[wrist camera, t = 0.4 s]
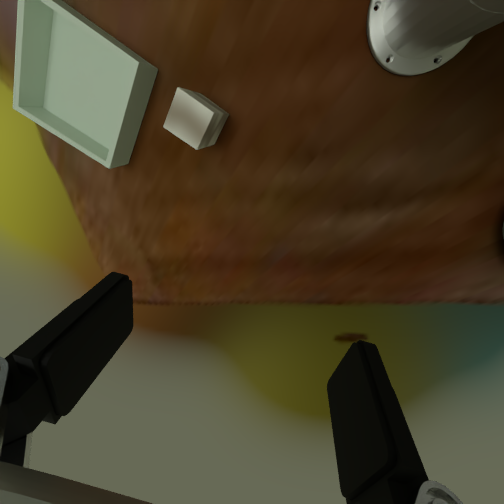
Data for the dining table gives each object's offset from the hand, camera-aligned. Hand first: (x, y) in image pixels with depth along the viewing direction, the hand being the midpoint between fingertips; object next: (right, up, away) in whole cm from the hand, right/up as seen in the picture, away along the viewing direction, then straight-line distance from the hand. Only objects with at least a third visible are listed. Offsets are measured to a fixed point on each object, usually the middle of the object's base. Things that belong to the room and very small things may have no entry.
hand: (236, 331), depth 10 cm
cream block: (-6, +24, +27) cm, 37 cm away
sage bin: (-24, +29, +27) cm, 46 cm away
